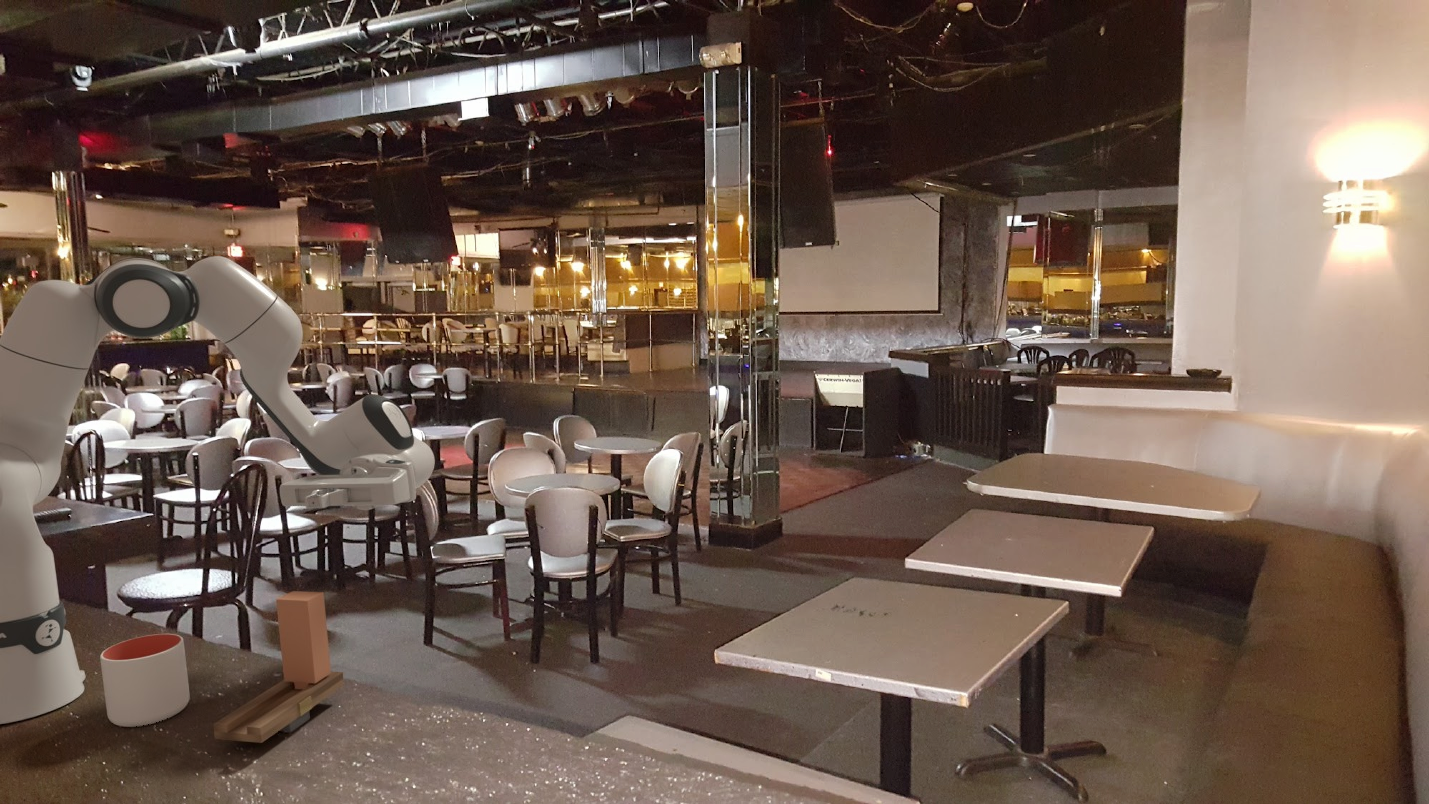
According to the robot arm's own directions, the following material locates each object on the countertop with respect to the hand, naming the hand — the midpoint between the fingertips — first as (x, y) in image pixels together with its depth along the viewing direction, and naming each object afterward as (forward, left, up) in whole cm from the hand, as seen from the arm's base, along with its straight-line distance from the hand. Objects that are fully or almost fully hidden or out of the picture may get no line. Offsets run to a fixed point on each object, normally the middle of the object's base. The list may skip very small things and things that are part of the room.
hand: (313, 502), depth 136 cm
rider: (+3, -9, -24) cm, 26 cm away
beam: (+3, -15, -27) cm, 31 cm away
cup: (-19, -15, -28) cm, 36 cm away
